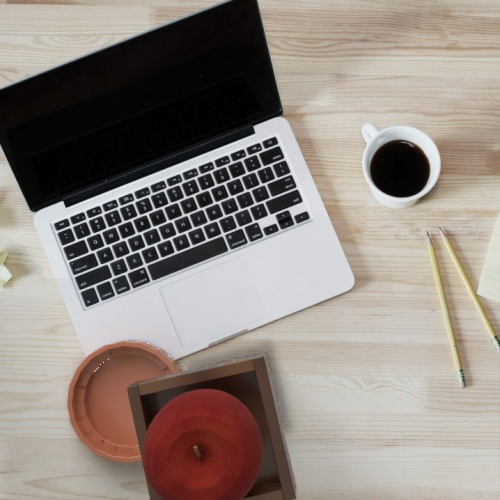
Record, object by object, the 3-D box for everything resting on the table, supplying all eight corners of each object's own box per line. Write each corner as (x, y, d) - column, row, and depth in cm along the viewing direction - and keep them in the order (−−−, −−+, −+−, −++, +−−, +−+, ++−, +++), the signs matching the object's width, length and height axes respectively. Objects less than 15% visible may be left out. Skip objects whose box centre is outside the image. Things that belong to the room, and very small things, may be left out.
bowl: (88, 467, 88) (80, 473, 85) (65, 353, 89) (56, 356, 86) (200, 442, 87) (196, 448, 84) (175, 329, 88) (170, 330, 85)
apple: (283, 468, 62) (279, 501, 52) (180, 506, 62) (158, 546, 52) (244, 365, 63) (234, 378, 53) (143, 403, 63) (114, 423, 53)
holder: (164, 514, 63) (155, 528, 59) (136, 381, 64) (126, 386, 60) (296, 486, 63) (296, 499, 59) (266, 352, 64) (263, 356, 60)
